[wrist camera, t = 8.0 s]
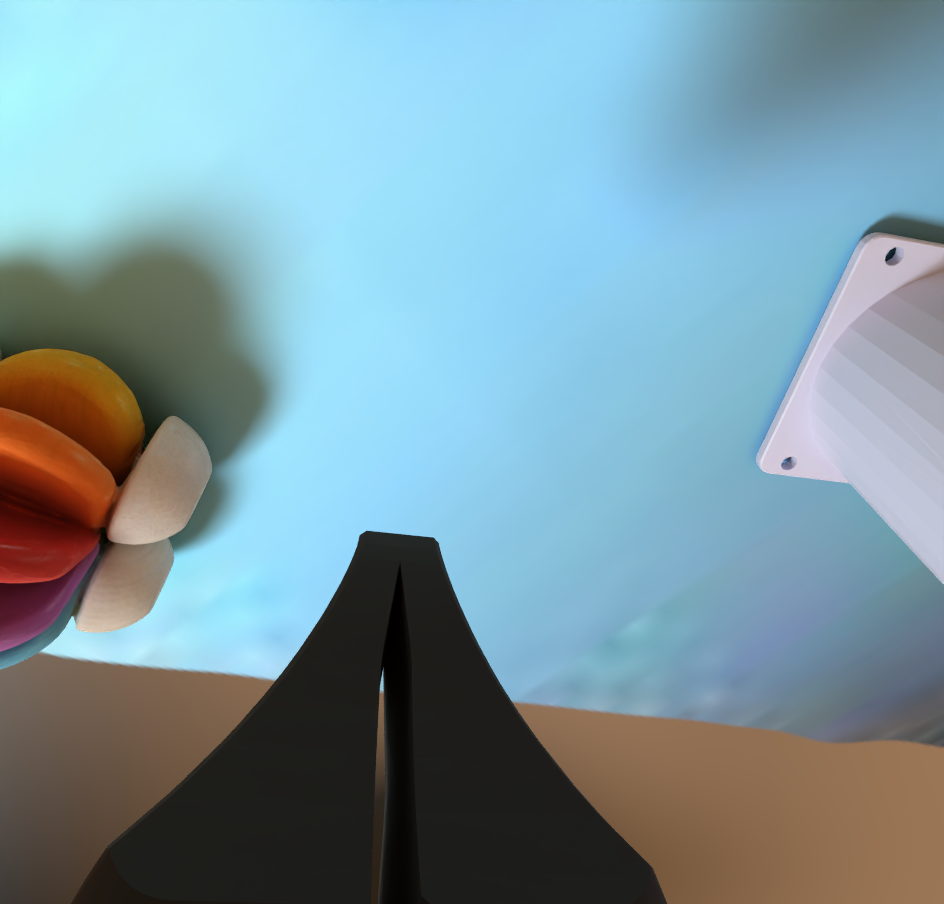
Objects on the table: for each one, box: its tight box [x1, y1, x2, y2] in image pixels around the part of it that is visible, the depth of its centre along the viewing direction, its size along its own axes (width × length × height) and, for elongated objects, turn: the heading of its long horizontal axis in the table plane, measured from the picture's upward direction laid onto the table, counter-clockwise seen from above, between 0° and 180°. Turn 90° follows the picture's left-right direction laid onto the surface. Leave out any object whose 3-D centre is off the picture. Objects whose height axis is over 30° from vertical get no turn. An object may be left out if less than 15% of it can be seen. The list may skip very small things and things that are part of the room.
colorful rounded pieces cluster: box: [0, 348, 212, 669], centre depth 19 cm, size 8×10×7 cm
